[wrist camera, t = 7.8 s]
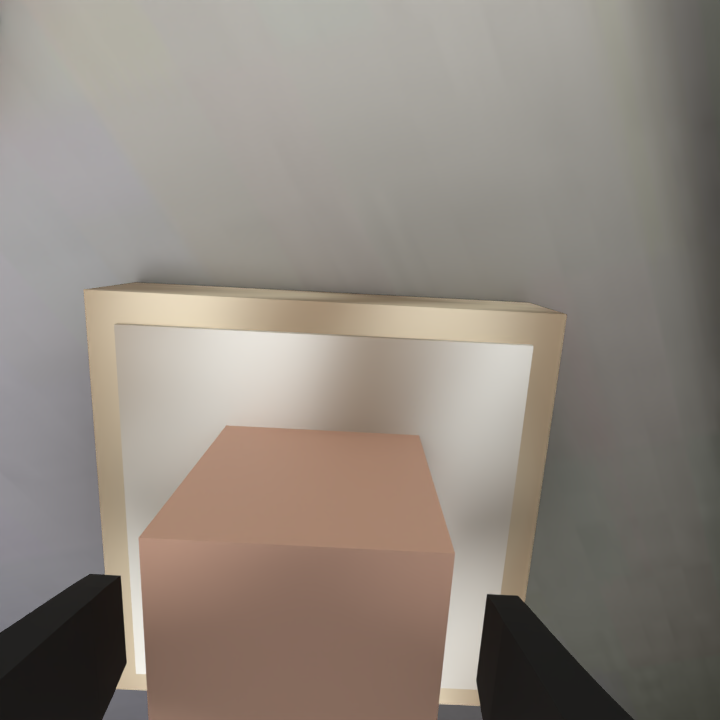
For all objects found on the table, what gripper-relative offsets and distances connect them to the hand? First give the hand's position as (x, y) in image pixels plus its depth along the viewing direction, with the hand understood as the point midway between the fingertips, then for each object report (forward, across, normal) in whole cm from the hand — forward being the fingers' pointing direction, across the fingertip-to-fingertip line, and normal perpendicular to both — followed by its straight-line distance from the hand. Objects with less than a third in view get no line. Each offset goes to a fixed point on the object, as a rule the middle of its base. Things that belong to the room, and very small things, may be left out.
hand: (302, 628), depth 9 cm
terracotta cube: (+4, 0, 0) cm, 4 cm away
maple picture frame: (+7, 0, 0) cm, 7 cm away
